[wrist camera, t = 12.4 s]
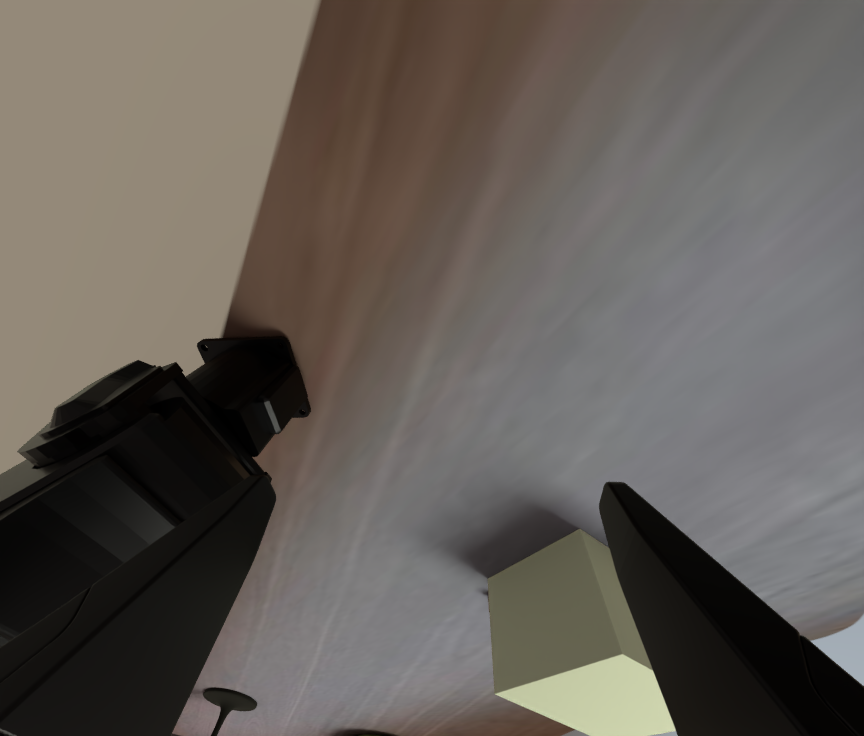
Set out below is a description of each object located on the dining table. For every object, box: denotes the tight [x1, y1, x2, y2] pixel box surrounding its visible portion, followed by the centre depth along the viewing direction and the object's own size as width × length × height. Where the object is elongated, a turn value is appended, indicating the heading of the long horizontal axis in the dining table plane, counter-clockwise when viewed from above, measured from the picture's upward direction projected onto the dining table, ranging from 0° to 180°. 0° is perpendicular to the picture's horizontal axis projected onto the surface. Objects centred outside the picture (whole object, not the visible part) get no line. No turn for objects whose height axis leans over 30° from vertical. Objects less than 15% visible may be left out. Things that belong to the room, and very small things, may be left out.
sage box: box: [488, 529, 676, 736], centre depth 29 cm, size 14×12×9 cm
